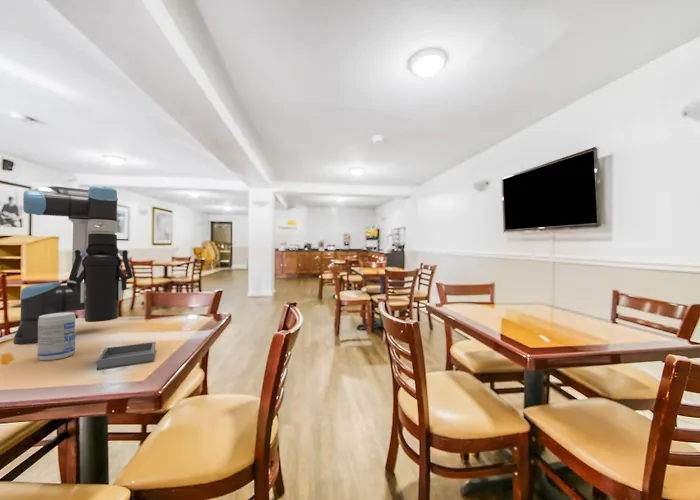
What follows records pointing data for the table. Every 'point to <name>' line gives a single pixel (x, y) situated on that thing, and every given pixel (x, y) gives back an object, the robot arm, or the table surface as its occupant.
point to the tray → (126, 355)
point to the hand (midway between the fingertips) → (102, 301)
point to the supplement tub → (56, 336)
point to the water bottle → (101, 285)
